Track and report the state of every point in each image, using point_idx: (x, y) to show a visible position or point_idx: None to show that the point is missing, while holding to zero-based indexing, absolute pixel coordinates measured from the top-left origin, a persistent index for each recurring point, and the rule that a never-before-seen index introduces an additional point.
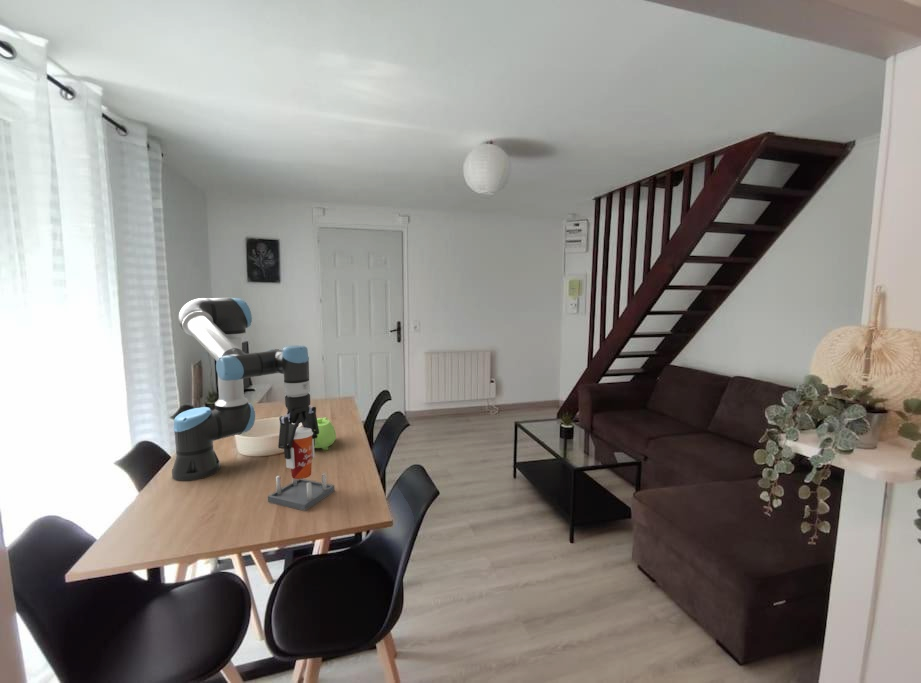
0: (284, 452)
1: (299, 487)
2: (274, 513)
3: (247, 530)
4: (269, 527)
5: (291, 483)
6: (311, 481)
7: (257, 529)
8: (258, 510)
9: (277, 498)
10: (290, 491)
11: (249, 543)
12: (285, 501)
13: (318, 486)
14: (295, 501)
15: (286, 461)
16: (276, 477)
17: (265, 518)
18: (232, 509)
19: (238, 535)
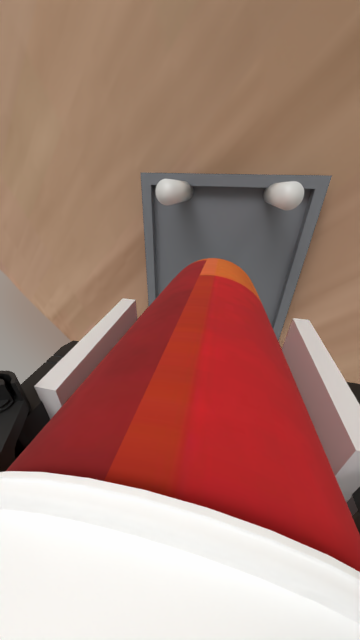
0: (34, 373)
1: (255, 230)
2: (113, 254)
3: (35, 248)
4: (71, 288)
5: (265, 182)
6: (297, 258)
7: (52, 268)
8: (100, 190)
9: (144, 228)
10: (216, 219)
11: (21, 289)
12: (147, 262)
13: (275, 292)
14: (153, 296)
15: (105, 319)
16: (155, 191)
17: (86, 249)
18: (52, 70)
19: (15, 244)
